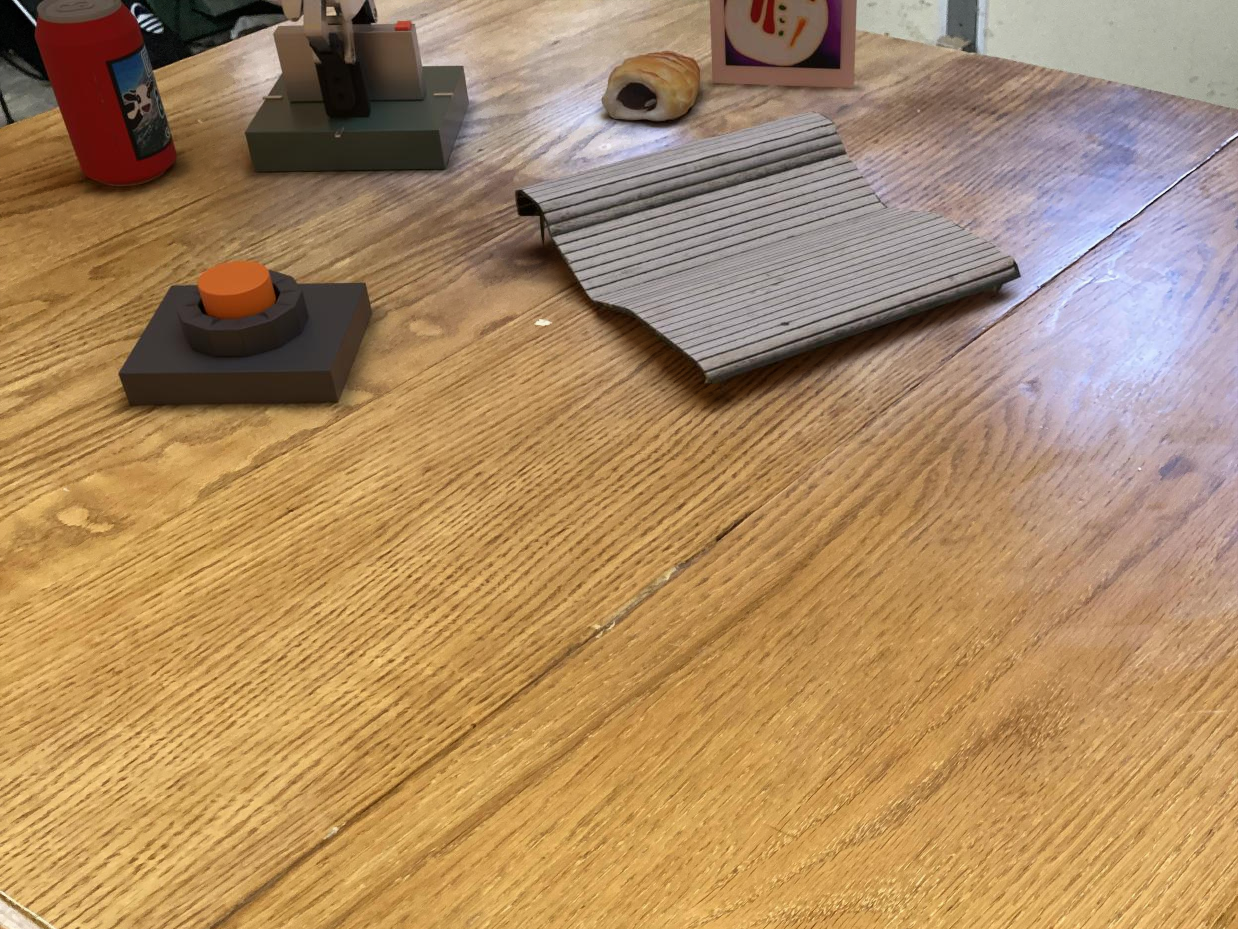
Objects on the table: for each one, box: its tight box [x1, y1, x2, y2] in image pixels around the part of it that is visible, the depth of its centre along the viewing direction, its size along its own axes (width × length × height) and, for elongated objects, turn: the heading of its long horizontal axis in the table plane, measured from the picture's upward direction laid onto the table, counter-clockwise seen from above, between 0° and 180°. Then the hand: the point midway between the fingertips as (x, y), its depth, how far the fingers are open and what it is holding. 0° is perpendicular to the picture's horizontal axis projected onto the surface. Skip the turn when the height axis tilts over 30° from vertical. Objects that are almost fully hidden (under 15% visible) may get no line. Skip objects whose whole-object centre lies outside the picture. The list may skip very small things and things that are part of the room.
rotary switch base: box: [244, 65, 470, 173], centre depth 107 cm, size 14×14×3 cm
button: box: [196, 260, 276, 319], centre depth 82 cm, size 4×4×2 cm
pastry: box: [600, 50, 701, 122], centre depth 111 cm, size 9×7×4 cm
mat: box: [514, 111, 1022, 398], centre depth 90 cm, size 23×24×5 cm
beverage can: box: [34, 0, 178, 187], centre depth 100 cm, size 7×7×12 cm
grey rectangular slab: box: [272, 20, 426, 102], centre depth 105 cm, size 10×2×5 cm, turn 90°
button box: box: [117, 269, 373, 406], centre depth 84 cm, size 12×10×4 cm
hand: (358, 95), depth 106 cm, fingers open, 6 cm apart
